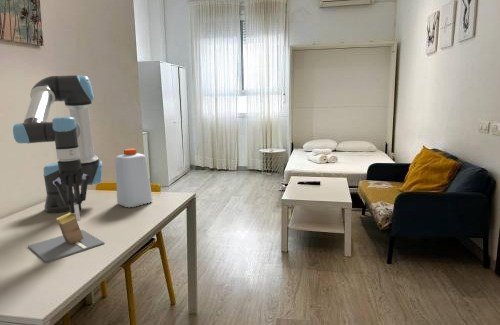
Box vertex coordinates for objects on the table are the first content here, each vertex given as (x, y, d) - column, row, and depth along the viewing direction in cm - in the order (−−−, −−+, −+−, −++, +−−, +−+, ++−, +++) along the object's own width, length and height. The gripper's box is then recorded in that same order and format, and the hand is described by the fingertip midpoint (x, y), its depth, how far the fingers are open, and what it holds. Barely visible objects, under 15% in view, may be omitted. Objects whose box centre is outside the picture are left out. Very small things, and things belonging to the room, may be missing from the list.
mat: (28, 246, 135) (28, 244, 135) (82, 231, 149) (82, 229, 149) (46, 262, 121) (45, 260, 121) (104, 243, 135) (104, 241, 135)
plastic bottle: (141, 197, 196) (136, 146, 191) (155, 202, 186) (151, 148, 181) (114, 203, 186) (108, 150, 181) (128, 209, 176) (122, 152, 170)
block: (65, 241, 137) (56, 218, 134) (78, 235, 140) (69, 212, 137) (70, 245, 134) (61, 221, 130) (83, 238, 137) (74, 215, 134)
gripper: (53, 163, 125) (62, 227, 130) (91, 157, 135) (98, 217, 139) (46, 161, 130) (55, 223, 135) (82, 155, 140) (89, 213, 144)
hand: (77, 220), depth 137 cm, fingers closed
